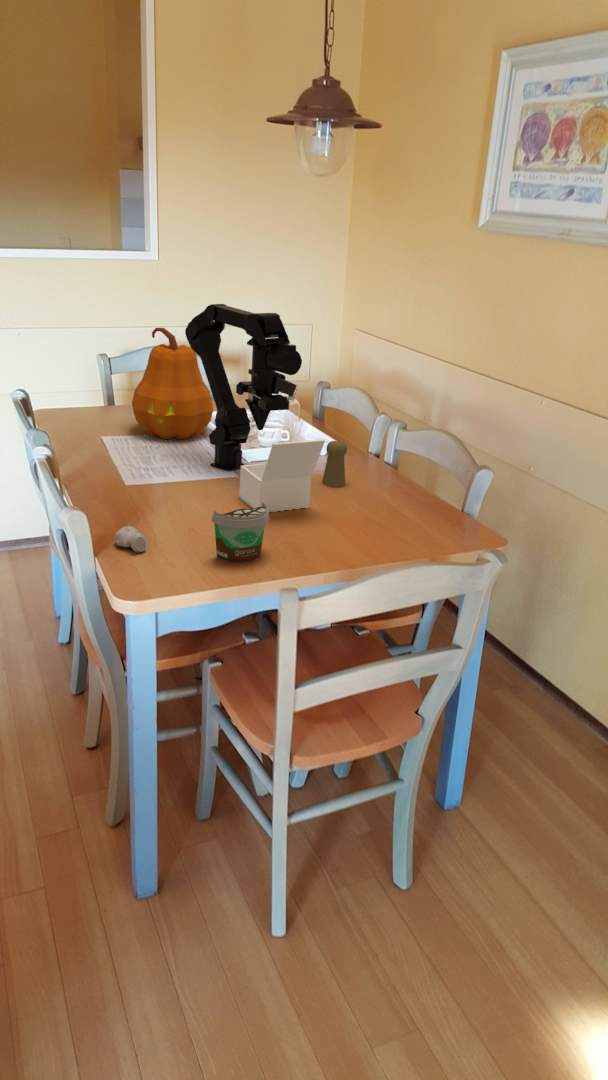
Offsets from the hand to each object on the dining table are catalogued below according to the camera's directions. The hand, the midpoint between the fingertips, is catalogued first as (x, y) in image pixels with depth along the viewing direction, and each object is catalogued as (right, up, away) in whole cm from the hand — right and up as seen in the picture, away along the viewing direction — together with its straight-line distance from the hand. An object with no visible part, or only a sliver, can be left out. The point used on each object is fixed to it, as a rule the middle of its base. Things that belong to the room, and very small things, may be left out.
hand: (260, 429), depth 202 cm
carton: (+4, -19, -10) cm, 21 cm away
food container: (-1, -31, -39) cm, 50 cm away
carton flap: (+8, -10, -21) cm, 25 cm away
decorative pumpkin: (-28, +4, +38) cm, 47 cm away
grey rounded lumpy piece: (-24, -29, -38) cm, 54 cm away
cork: (+18, -13, +6) cm, 24 cm away
